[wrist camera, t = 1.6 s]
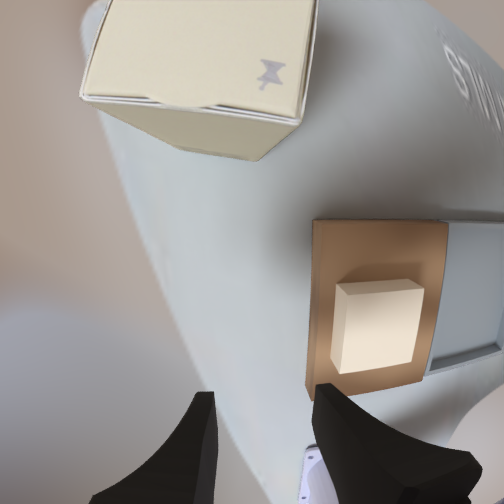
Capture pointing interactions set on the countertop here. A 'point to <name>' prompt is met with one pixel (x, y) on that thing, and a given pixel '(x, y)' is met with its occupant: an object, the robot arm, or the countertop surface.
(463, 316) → the tray
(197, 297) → the countertop surface
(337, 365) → the tile
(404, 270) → the plate
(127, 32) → the box
